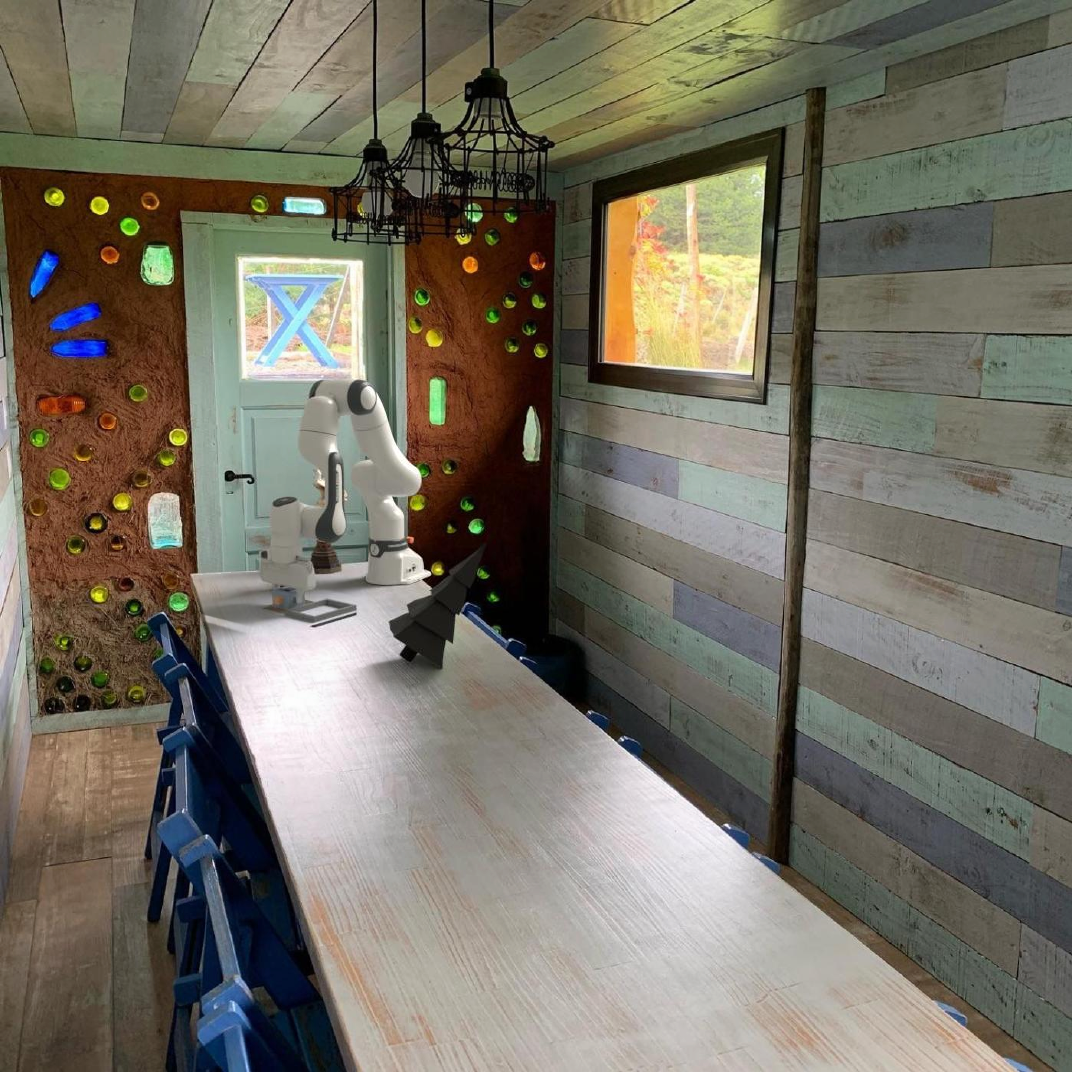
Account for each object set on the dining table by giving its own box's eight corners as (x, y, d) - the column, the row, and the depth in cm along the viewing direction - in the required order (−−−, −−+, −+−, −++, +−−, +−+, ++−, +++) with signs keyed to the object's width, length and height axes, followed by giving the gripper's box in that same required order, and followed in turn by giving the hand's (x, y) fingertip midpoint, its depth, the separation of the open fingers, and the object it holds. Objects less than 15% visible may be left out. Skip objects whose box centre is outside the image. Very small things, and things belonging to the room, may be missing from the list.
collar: (289, 602, 318) (289, 585, 317) (305, 605, 314) (304, 588, 313) (268, 607, 312) (267, 590, 311) (283, 611, 308) (283, 594, 307)
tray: (327, 608, 317) (327, 598, 317) (356, 615, 310) (356, 605, 310) (285, 620, 304) (285, 610, 304) (314, 627, 298) (314, 617, 297)
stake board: (299, 603, 323) (298, 582, 321) (322, 608, 317) (321, 587, 316) (262, 613, 312) (261, 591, 310) (285, 618, 306) (284, 596, 305)
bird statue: (356, 564, 374) (353, 463, 367) (357, 572, 362) (354, 468, 355) (307, 565, 371) (303, 464, 364) (306, 574, 359) (303, 469, 352)
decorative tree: (433, 682, 263) (515, 565, 262) (383, 651, 259) (466, 532, 258) (426, 664, 278) (504, 552, 276) (378, 634, 273) (457, 521, 272)
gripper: (320, 556, 307) (321, 604, 310) (271, 547, 319) (273, 593, 321) (303, 560, 302) (304, 608, 305) (254, 551, 314) (257, 597, 316)
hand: (288, 600), depth 313 cm, fingers closed on collar, 6 cm apart
